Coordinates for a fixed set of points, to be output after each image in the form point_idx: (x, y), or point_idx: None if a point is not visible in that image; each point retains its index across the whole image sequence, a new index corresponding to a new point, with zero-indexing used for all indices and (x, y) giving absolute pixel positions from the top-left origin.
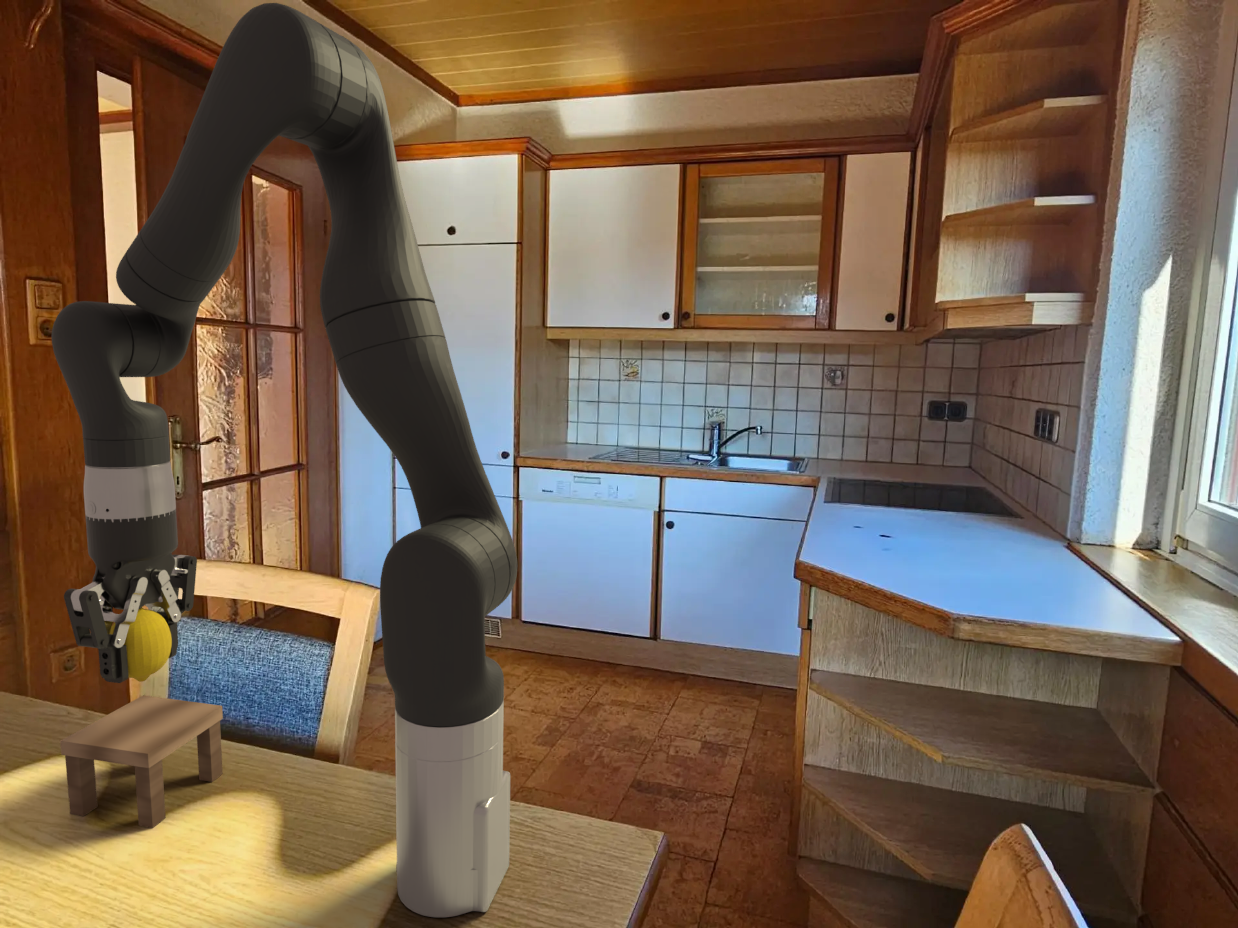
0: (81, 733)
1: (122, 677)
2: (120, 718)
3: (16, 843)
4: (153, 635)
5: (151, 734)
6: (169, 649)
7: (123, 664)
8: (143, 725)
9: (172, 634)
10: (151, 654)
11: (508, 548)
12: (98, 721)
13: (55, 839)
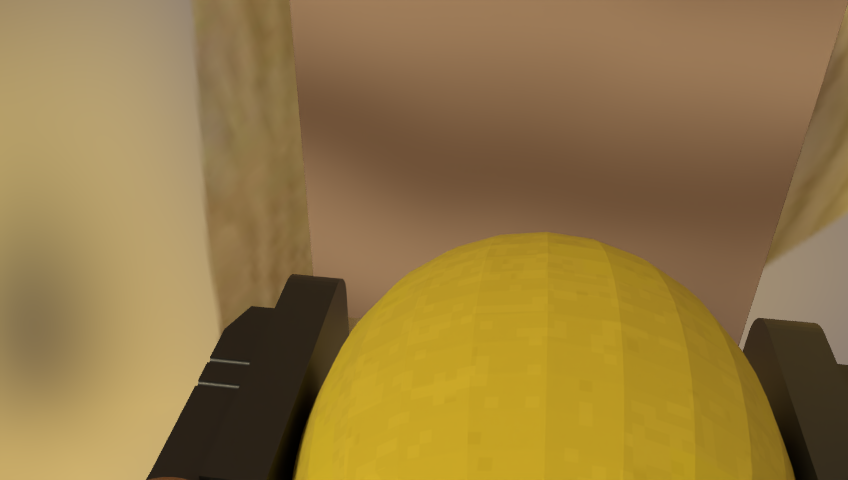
0: None
1: (826, 340)
2: None
3: (832, 208)
4: (657, 472)
5: (660, 32)
6: (459, 280)
7: (840, 414)
8: (572, 135)
9: (274, 401)
10: (677, 327)
11: None
12: None
13: (817, 121)
